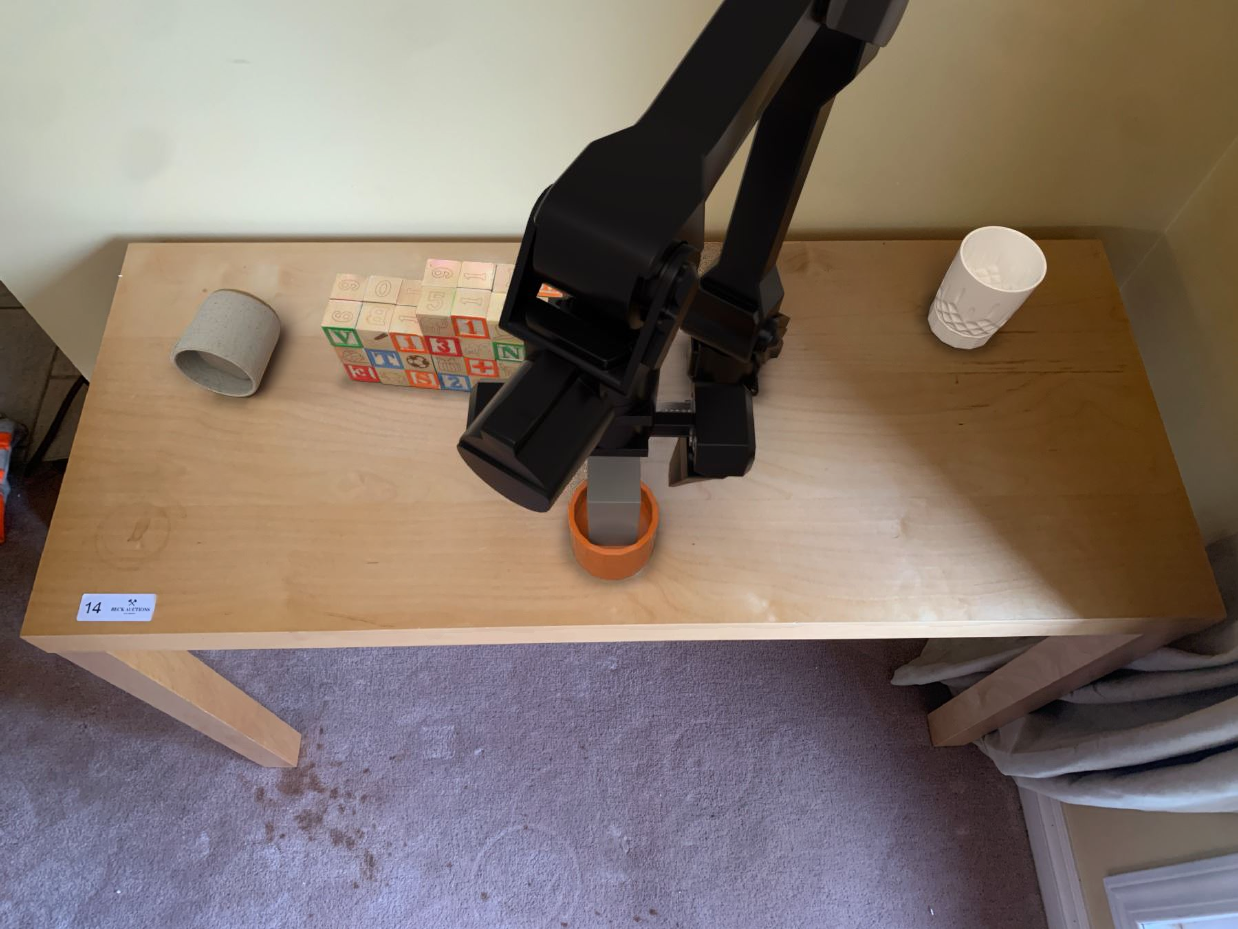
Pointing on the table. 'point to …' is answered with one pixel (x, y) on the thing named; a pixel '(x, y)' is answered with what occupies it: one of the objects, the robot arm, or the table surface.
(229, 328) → the ceramic mug
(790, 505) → the table surface
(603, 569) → the cup
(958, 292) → the white cup
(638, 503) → the block
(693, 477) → the robot arm
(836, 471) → the table surface
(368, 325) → the stack of blocks
